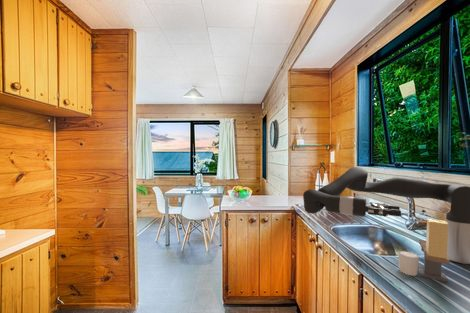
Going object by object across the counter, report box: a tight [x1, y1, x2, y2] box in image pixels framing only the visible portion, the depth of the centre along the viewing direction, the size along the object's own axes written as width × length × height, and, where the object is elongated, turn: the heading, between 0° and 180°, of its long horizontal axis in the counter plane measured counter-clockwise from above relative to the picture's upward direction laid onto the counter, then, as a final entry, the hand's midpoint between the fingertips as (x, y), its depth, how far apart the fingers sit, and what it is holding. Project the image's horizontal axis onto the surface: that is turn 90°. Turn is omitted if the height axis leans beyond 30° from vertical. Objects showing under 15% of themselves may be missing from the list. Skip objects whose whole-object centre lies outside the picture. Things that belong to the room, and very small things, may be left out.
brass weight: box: [425, 218, 448, 259], centre depth 86 cm, size 5×5×12 cm
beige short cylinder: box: [397, 250, 421, 276], centre depth 95 cm, size 7×7×7 cm
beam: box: [418, 239, 451, 265], centre depth 92 cm, size 20×7×2 cm, turn 149°
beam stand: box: [417, 253, 448, 283], centre depth 92 cm, size 5×8×8 cm, turn 59°
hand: (400, 211), depth 91 cm, fingers open, 8 cm apart
